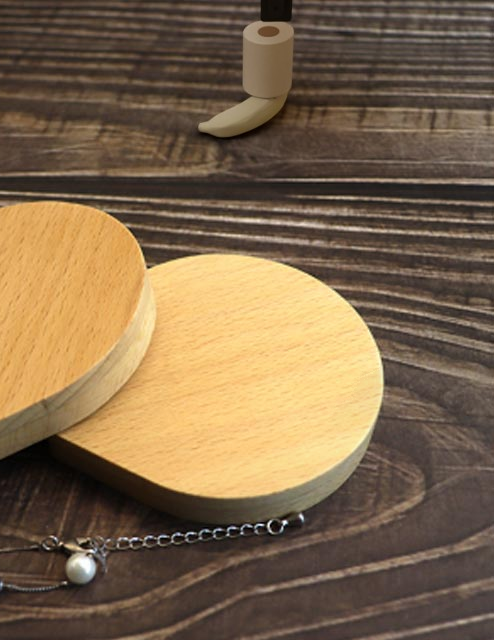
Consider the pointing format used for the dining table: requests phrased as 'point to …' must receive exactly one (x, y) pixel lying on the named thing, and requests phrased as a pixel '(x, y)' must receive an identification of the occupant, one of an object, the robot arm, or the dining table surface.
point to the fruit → (243, 116)
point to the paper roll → (267, 58)
